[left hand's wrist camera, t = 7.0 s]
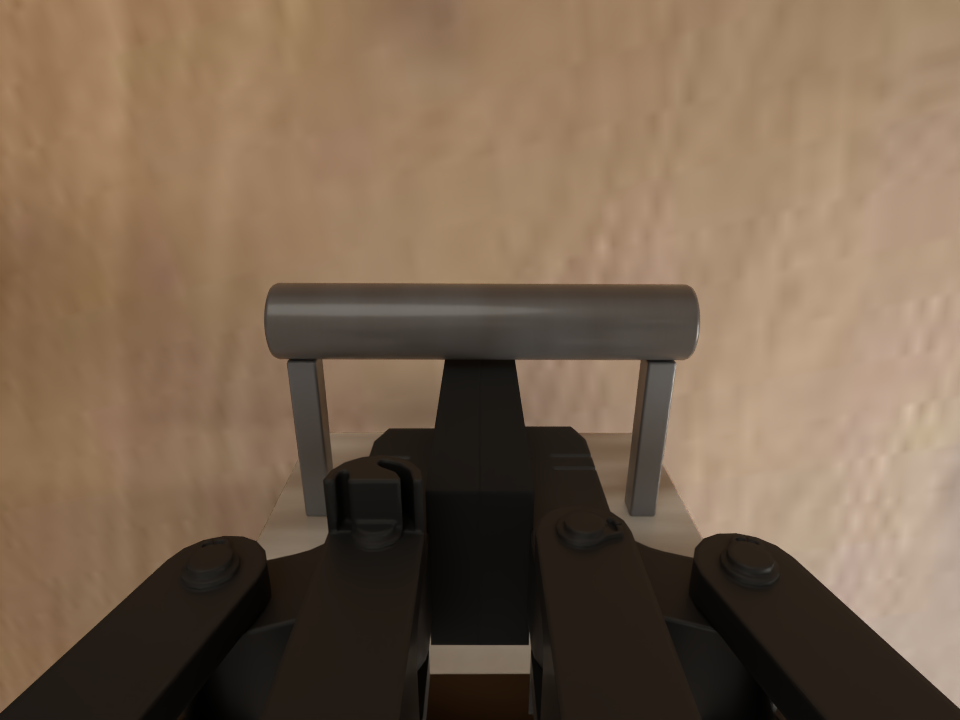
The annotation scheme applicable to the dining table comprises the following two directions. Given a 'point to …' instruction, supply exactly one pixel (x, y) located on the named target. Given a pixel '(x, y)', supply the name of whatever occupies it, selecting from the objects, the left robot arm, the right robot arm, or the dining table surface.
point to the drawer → (484, 336)
